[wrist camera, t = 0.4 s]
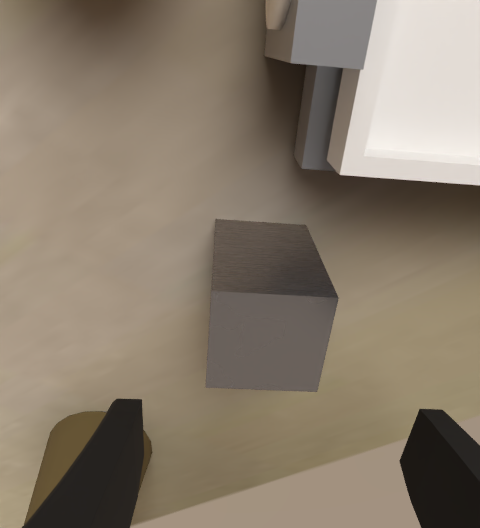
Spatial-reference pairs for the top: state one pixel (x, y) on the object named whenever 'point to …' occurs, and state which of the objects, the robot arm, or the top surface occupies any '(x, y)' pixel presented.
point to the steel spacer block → (268, 308)
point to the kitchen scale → (384, 85)
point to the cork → (69, 453)
